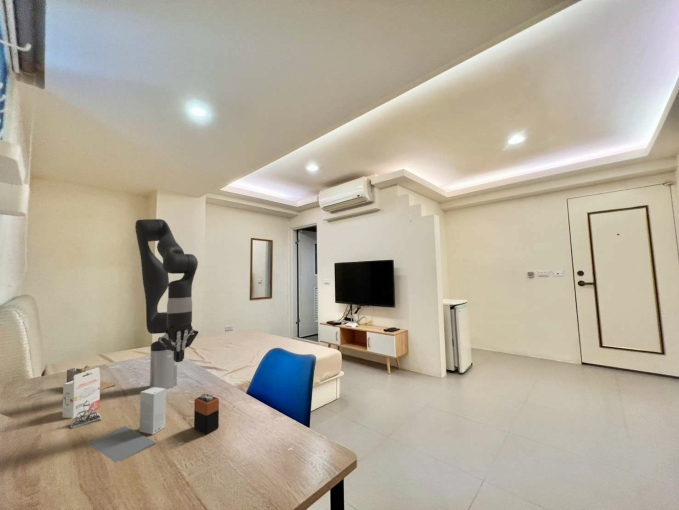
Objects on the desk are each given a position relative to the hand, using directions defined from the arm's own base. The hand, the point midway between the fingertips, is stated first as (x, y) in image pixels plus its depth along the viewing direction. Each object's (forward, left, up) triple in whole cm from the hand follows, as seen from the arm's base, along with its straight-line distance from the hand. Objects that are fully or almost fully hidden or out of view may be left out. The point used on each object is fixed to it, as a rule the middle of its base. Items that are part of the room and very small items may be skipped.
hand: (178, 361), depth 90 cm
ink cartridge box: (+14, -35, -19) cm, 42 cm away
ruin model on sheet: (+5, -67, -19) cm, 70 cm away
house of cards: (+15, -26, -19) cm, 35 cm away
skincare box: (+8, 0, -19) cm, 20 cm away
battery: (0, +15, -19) cm, 24 cm away
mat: (+18, 0, -18) cm, 26 cm away
